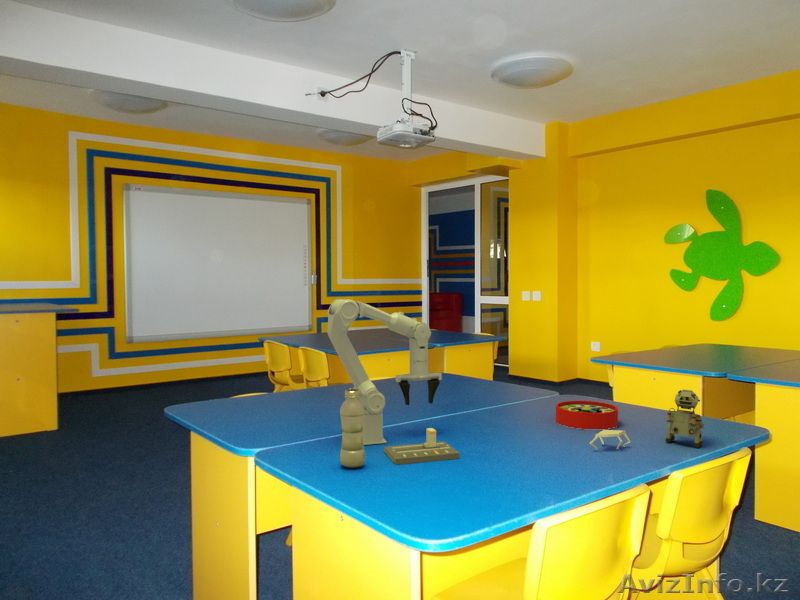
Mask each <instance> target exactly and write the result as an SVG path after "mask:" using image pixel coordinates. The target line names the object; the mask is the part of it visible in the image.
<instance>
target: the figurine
mask: <svg viewBox="0 0 800 600" xmlns="http://www.w3.org/2000/svg"><path fill="white" fill-rule="evenodd" d="M674 402H675V405H676V407H677V409H675V408H674V407H670V408H669V410H667V418H666V422H667V423H668V424H667V426H666V435H665V436H666V437H665V442H666V443H667V442H671V441H673V440H674V441H675V439H676V436H675V435H680V436H685V437H693V438H694V442H693V447H694V448H696V449H698V448H700V447H701V446H703V444H704V442H703V441H704V440H703V433H702V432H703V431H702V429H704V428H705V427H704V426H705V423H703V419H702V417H701V415H700V414H698V413H696V412H695V409H696V407H697V405H698V404H699V402H701V399H699V396H698V395H697V393H695V392H694V391H693V390H691V389H682V390H681V389H679V390H678V392H677V394H675V397H674ZM679 408H680V409H679ZM672 409H673V410H672ZM683 409H684V410H683ZM674 441H673V442H674ZM671 443H672V442H671Z"/></svg>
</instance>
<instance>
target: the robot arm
mask: <svg viewBox="0 0 800 600" xmlns="http://www.w3.org/2000/svg"><path fill="white" fill-rule="evenodd" d="M364 317H365V318H369V319H372V320H374V321H377V322H380V323H382V324H386V326H387V329H388V330H389V331H391V332H394V333H397V334H400V335H402V336H405V337H407V338H408V339H409V373H406V374H396V375H395V382H396V383H398V386H399V388H400V390H401V392H402V395H403V399H404V404H405V405H406V406H410V389H411V387H410V386H411V384H410V383H409V382H415V381H419V382H420V381H427V391H428V393H427V395H428V397H427V399H428V403H429V404H433V403H434V398H435V395H436V392H437V389H438V387H439V386H440V384H441V383H440V382H441V380H443V376H442V375H443V373H441V372H429V366H428V365H429V350H428V349H429V346H428V345H429V339H430V338H431V335H432V331H431V328H430V326H429V325H428V324H427V323H426V322H423V321H417V320H418V319H417V318H415V317H412V318H411V317H410V316H409V317H408V316H407V315H405V313H404V312H402V311H398V312H393V313H388V312H385V311H383V310H381V309H379V308H377V307H374V306H373V305H372V306H371V305H370V304H367V303H366V302H362V301H356V300H353V299H343V298H336V299H334V300H333V301H332V302H331V304H330V305H329V308H328V310H327V319H328V320H327V337H328V338H329V340H330V343H331V345H332V346H333V348H334V350H335V351H336V353H337V356H338V357H339V360H340V361H341V363H342V365H343V368H344V369H345V371H346V374H347V375H348V377H349V379H350V381H351V383H352V384H353V389H358V390H359V395H360V397H359V400H360V402H361V403H362V404H363V406H364V409H365V414H364V422H363V445H364V446H365V445H368V446H369V445H378V444H387V440H386V439H385V438H384V435H383V434H384V433H383V430H384V428H383V426H384V425H383V424H384V421H383V420H384V419H383V410H384V408H385V407H386V397H385V395H384V394H383V393H382V392H380V391H379V390H378V389H377V387H376V385H375V384H374V383H373V382H372V380H371V379H370V378H369V375H368V373H367V371H366V370H365V368H364V367H365V366H364V365H363V364H362V362H361V360H360V358H359V356H358V354H357V351H356V350H355V348H354V345H353V344H352V342H351V341H350V338H349V336H348V332H349V329H350V327H351V325H352V323H353V322H354V321H355V320H356V319H357V318H364Z"/></svg>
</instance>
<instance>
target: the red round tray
mask: <svg viewBox="0 0 800 600" xmlns="http://www.w3.org/2000/svg"><path fill="white" fill-rule="evenodd" d="M556 422H557V423H559V424H561V425H565V426H568V427H574V428H582V429H608V428H613V427H616V426H617V425H618V426H619V408H618V406H616V405H614V404H611V403H608V402H606V403H605V402H601V401H600V402H599V401H594V400H593V401H592V400H566V401H561V402H557V403H556V404H555V423H556ZM557 423H556V424H557Z"/></svg>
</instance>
